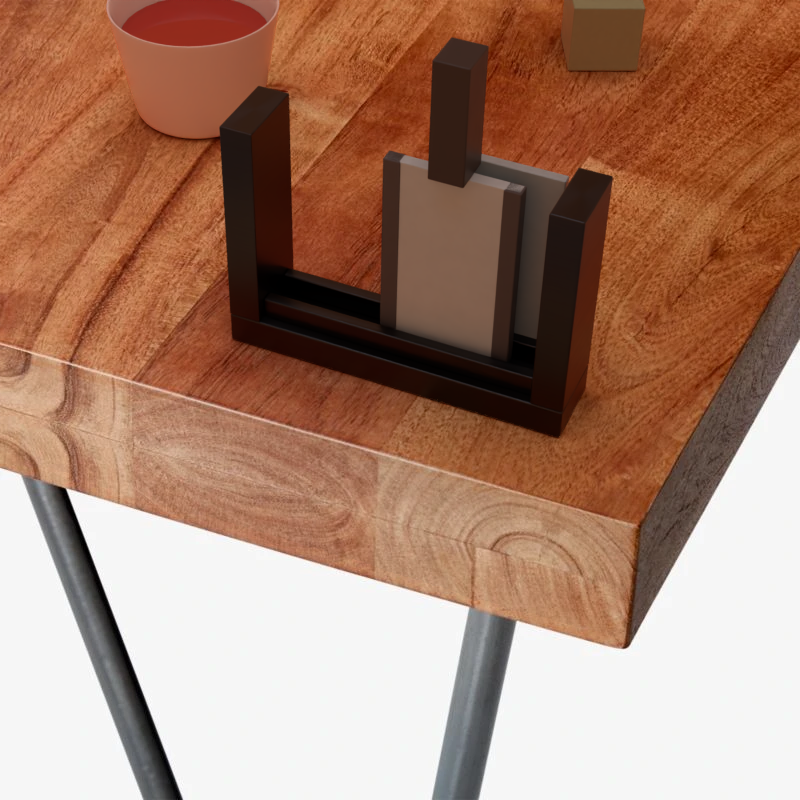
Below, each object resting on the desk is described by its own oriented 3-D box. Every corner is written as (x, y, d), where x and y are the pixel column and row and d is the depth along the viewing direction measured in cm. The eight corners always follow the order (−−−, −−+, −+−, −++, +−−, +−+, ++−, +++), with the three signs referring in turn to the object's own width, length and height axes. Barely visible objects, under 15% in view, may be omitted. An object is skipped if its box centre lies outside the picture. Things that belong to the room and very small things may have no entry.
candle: (163, 51, 95) (155, -51, 91) (308, 83, 93) (306, -19, 89) (87, 131, 89) (74, 26, 85) (240, 167, 87) (235, 61, 82)
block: (627, 35, 98) (635, -27, 95) (637, 71, 95) (645, 8, 92) (560, 35, 98) (566, -27, 95) (567, 71, 95) (574, 8, 92)
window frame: (231, 339, 76) (218, 126, 69) (266, 294, 79) (258, 84, 71) (559, 438, 72) (585, 223, 64) (585, 388, 74) (613, 175, 67)
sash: (373, 338, 74) (377, 47, 64) (391, 313, 75) (398, 23, 65) (501, 376, 72) (526, 83, 62) (517, 349, 74) (544, 58, 64)
